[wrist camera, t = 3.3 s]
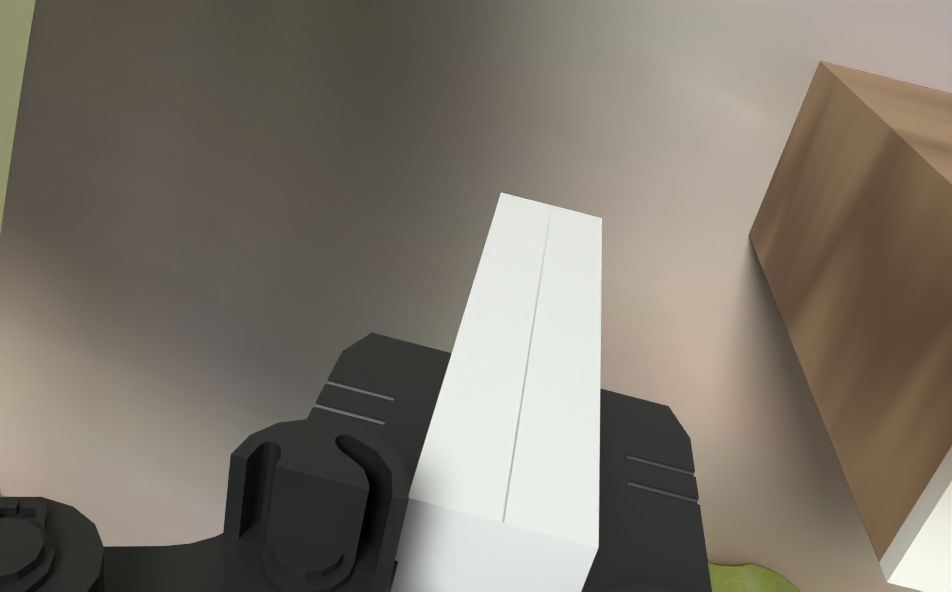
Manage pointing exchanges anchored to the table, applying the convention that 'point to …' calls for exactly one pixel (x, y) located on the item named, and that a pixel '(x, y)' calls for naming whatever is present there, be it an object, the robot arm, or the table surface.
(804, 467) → the table surface
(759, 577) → the plant pot
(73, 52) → the table surface
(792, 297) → the walnut block
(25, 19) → the slatted curved stool
